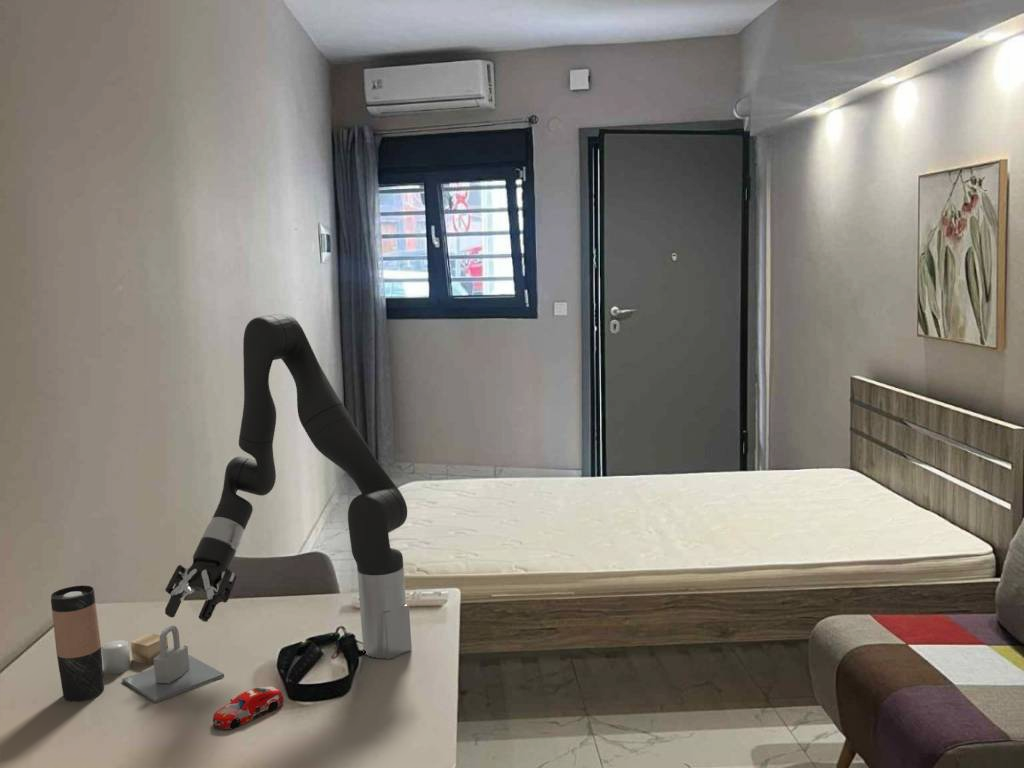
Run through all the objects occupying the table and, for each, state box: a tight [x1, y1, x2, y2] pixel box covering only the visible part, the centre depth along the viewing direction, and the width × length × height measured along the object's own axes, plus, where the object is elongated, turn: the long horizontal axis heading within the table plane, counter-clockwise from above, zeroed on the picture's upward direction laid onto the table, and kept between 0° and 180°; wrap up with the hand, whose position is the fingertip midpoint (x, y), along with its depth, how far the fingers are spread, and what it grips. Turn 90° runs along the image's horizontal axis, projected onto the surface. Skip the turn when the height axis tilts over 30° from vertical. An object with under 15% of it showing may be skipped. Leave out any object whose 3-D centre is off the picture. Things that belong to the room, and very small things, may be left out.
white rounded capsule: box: [101, 639, 132, 675], centre depth 195 cm, size 5×5×5 cm
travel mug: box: [50, 585, 105, 702], centre depth 183 cm, size 8×8×20 cm
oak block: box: [130, 632, 169, 665], centre depth 200 cm, size 5×5×4 cm
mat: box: [121, 654, 225, 703], centre depth 189 cm, size 14×14×1 cm
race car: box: [212, 686, 285, 730], centre depth 172 cm, size 13×5×4 cm, turn 137°
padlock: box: [153, 624, 190, 684], centre depth 188 cm, size 7×4×10 cm, turn 164°
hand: (185, 617), depth 191 cm, fingers open, 8 cm apart
